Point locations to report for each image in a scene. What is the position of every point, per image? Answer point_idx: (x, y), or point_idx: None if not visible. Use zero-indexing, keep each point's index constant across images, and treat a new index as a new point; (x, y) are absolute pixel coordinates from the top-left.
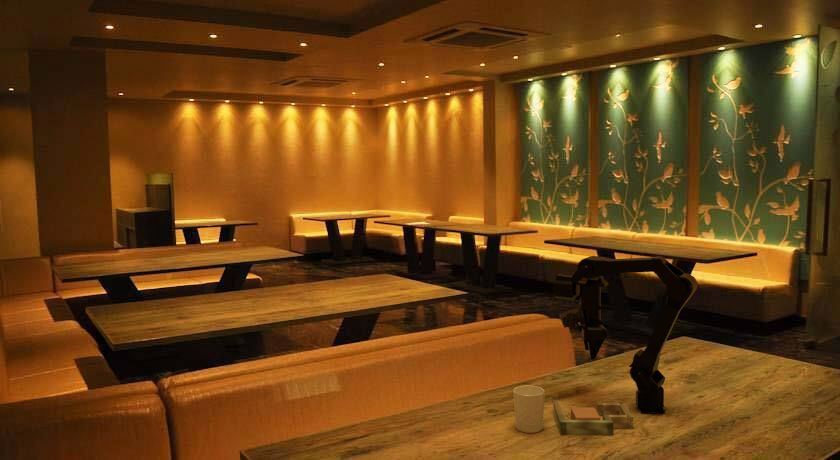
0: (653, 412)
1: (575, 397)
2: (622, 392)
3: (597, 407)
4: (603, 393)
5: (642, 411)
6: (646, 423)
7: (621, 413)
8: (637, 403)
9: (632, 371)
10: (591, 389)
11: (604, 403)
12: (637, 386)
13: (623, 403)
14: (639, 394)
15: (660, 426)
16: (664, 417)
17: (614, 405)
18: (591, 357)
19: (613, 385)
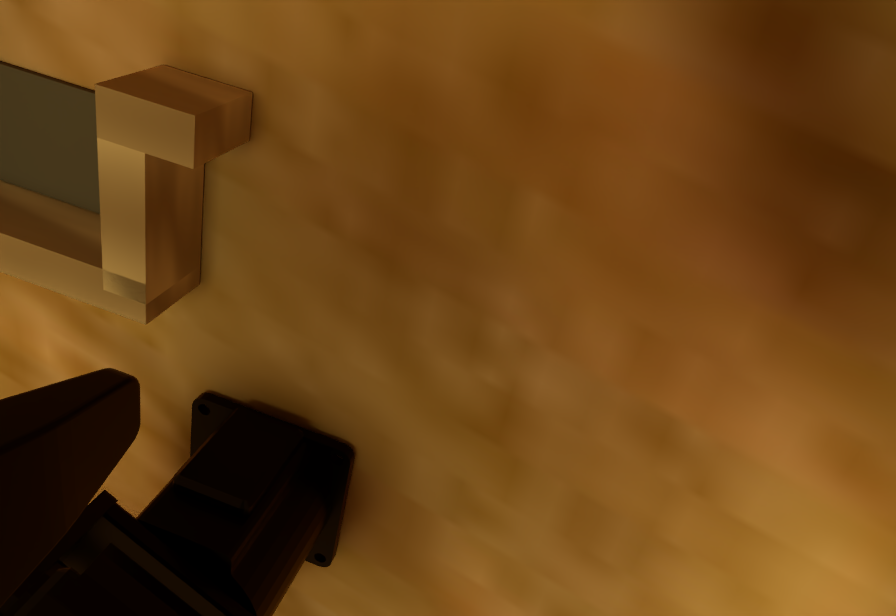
0: (191, 453)
1: (664, 60)
2: (645, 519)
3: (143, 84)
4: (678, 379)
5: (195, 403)
6: (52, 324)
7: (84, 231)
8: (228, 429)
9: (19, 607)
10: (838, 338)
11: (133, 162)
12: (85, 509)
13: (139, 314)
14: (173, 483)
15: (18, 369)
16: (149, 467)
17: (104, 226)
18: (71, 392)
19: (848, 559)
